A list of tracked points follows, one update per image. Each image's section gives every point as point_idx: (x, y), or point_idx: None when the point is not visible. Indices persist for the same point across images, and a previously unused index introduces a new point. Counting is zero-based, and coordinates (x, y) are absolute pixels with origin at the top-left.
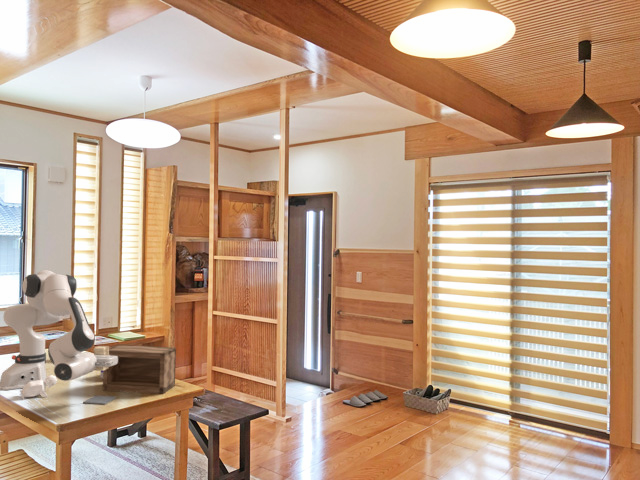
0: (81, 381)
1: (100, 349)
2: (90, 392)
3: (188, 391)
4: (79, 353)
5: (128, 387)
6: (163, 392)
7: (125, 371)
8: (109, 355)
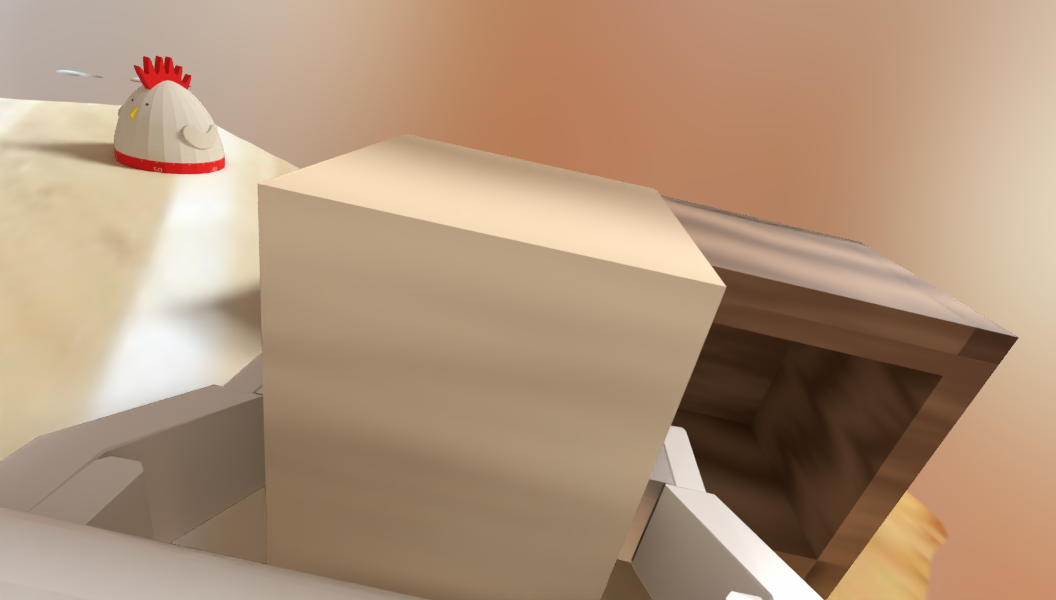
0: (197, 328)
1: (547, 316)
2: (250, 536)
3: (915, 545)
4: (211, 141)
5: None
6: (829, 590)
7: None
8: (691, 451)
